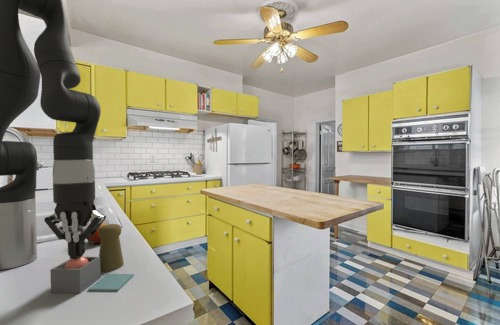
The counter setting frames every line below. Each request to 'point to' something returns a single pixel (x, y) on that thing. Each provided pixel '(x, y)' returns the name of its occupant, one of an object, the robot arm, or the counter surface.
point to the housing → (75, 277)
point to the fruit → (96, 236)
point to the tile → (111, 282)
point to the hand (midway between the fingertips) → (76, 257)
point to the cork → (110, 248)
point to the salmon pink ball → (76, 262)
